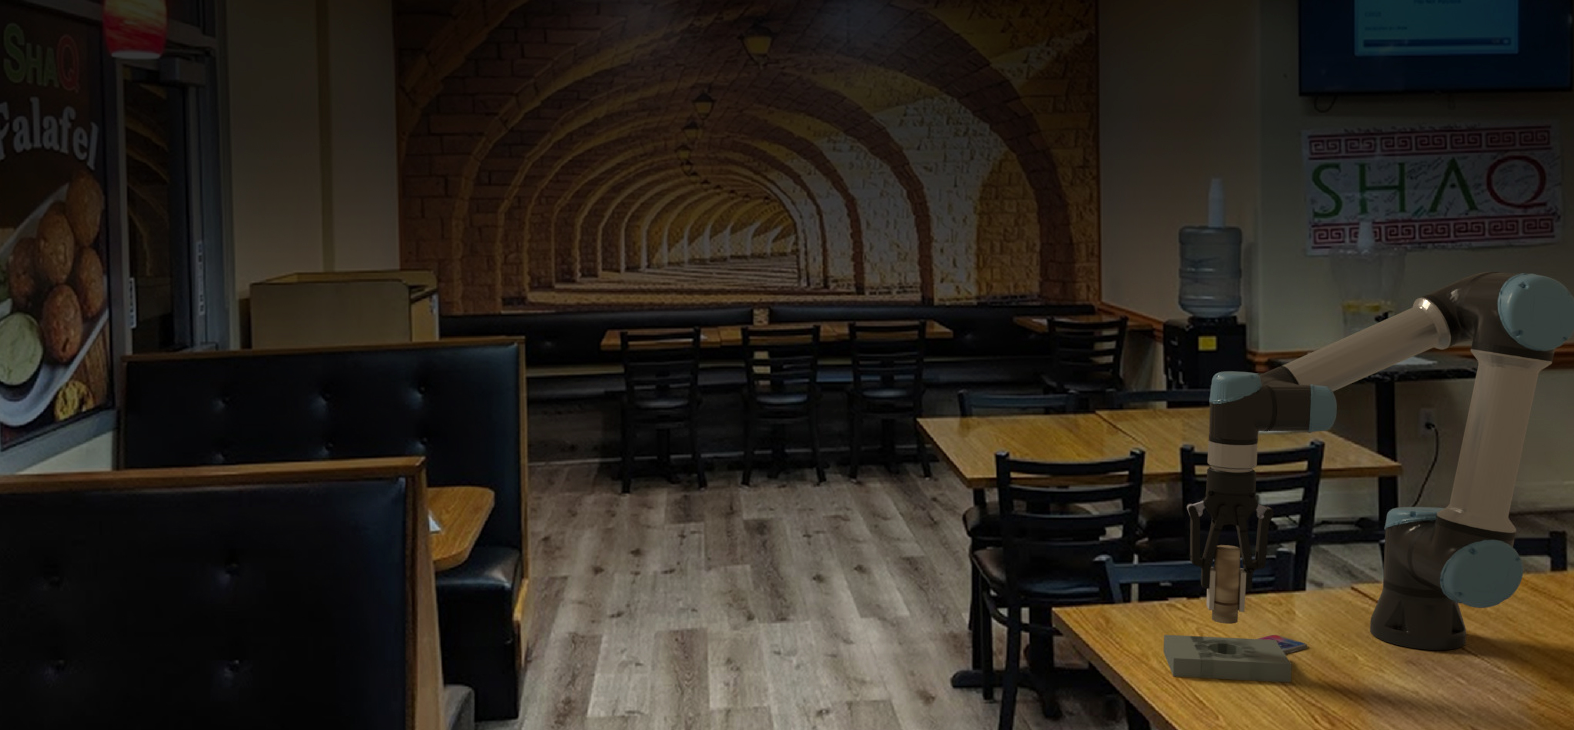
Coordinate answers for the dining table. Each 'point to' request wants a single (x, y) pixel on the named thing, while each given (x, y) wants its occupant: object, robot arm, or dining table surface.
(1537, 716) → the dining table surface
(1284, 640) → the smartphone
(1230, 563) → the peg
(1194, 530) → the robot arm
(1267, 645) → the board
